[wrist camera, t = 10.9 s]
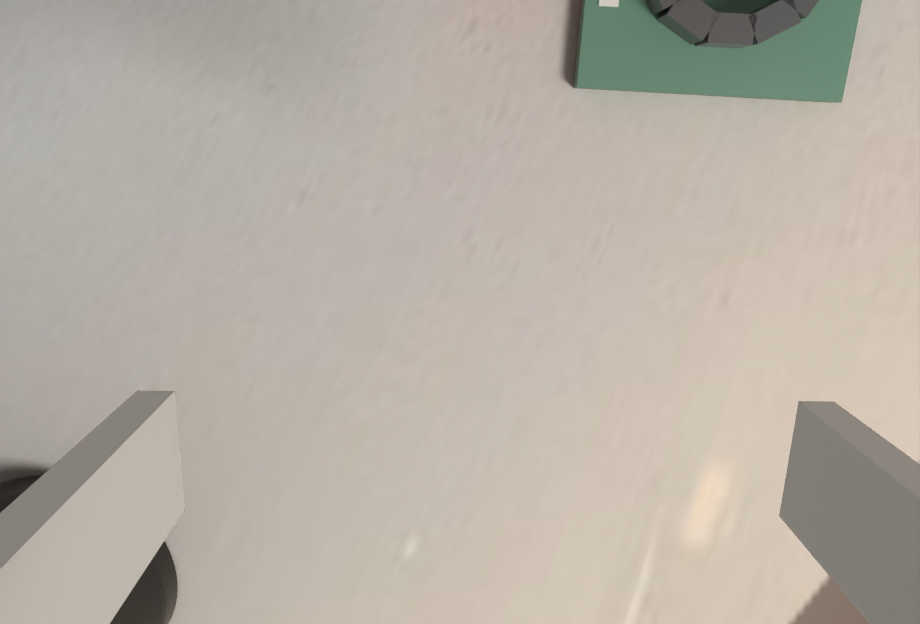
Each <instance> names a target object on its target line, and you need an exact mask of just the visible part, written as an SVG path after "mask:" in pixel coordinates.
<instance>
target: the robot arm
mask: <svg viewBox="0 0 920 624" xmlns="http://www.w3.org/2000/svg"><path fill="white" fill-rule="evenodd" d="M184 510H185V502H184V490H183V479H182V468H181V457H180V446H179V435H178V424H177V413H176V402H175V391H136V392H135V393H134V394H133V395H132V396H131V397H130V398H128V399H127V400H126V401H125V402H124V403H123V404H122V405H121V406H120V407H118V408H117V409H116V410H115V411H114V412H113V413H112V414H111V415H109V416H108V417H107V418H106V419H105V420H104V421H103V422H102V423H100V424H99V425H98V426H97V427H96V428H95V429H94V430H93V431H92V432H90V433H89V434H88V435H87V436H86V437H85V438H84V439H83V440H81V441H80V442H79V443H78V444H77V445H76V446H75V447H74V448H73V449H71V450H70V451H69V452H68V453H67V454H66V455H65V456H64V457H62V458H61V459H60V460H59V461H58V462H57V463H56V464H55V465H53V466H52V467H51V468H50V469H49V470H48V471H47V472H46V473H45V474H43V475H42V476H33V477H25V478H20V479H16V480H12V481H9V482H6V483H3V484H1V485H0V624H168V623H169V621H170V619H171V617H172V615H173V612H174V609H175V605H176V599H177V576H176V571H175V566H174V563H173V560H172V557H171V554H170V552H169V550H168V548H167V546H166V544H165V542H164V541H165V539H166V538H167V536H168V535H169V533H170V532H171V530H172V528H173V527H174V525H175V524H176V522H177V521H178V519H179V518H180V516H181V515H182V513H183V512H184ZM779 516H780V517H781V519H782V520H783V521H784V522H785V523H786V524H787V526H788V527H789V528H790V529H791V530H792V532H793V533H794V534H795V535H796V536H797V538H798V539H799V540H800V541H801V542H802V544H803V545H804V546H805V547H806V548H807V550H808V551H809V552H810V553H811V554H812V555H813V557H814V558H815V559H816V560H817V561H818V563H819V564H820V565H821V566H822V567H823V569H824V570H825V571H826V572H827V573H828V575H829V576H830V577H831V578H832V579H833V580H834V582H835V583H836V584H837V585H838V587H839V588H840V589H841V590H842V591H843V592H844V594H845V595H846V596H847V597H848V598H849V600H850V601H851V602H852V603H853V604H854V606H855V607H856V608H857V609H858V610H859V611H860V613H861V614H862V615H863V616H864V617H865V618H866V620H867V621H868V622H869V624H920V464H918V463H917V462H916V461H914V460H913V459H912V458H910V457H909V456H907V455H906V454H905V453H903V452H902V451H901V450H899V449H898V448H897V447H895V446H894V445H892V444H891V443H890V442H888V441H887V440H886V439H884V438H883V437H881V436H880V435H879V434H877V433H876V432H875V431H873V430H872V429H871V428H869V427H868V426H866V425H865V424H864V423H862V422H861V421H860V420H858V419H857V418H856V417H854V416H853V415H851V414H850V413H849V412H847V411H846V410H845V409H843V408H842V407H841V406H839V405H838V404H836V403H835V402H814V401H799V402H798V408H797V414H796V420H795V426H794V432H793V438H792V444H791V450H790V456H789V462H788V467H787V473H786V479H785V485H784V491H783V497H782V503H781V509H780V515H779Z"/></svg>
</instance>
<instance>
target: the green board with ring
mask: <svg viewBox="0 0 920 624" xmlns="http://www.w3.org/2000/svg"><path fill="white" fill-rule="evenodd" d="M861 3H862V0H582V5H581V15H580V26H579V36H578V47H577V57H576V68H575V78H574V88H583V89H601V90H618V91H636V92H654V93H671V94H689V95H706V96H724V97H742V98H759V99H777V100H795V101H812V102H830V103H832V102H842V98H843V93H844V88H845V83H846V78H847V73H848V68H849V63H850V58H851V53H852V48H853V43H854V38H855V33H856V28H857V23H858V18H859V13H860V8H861Z"/></svg>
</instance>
